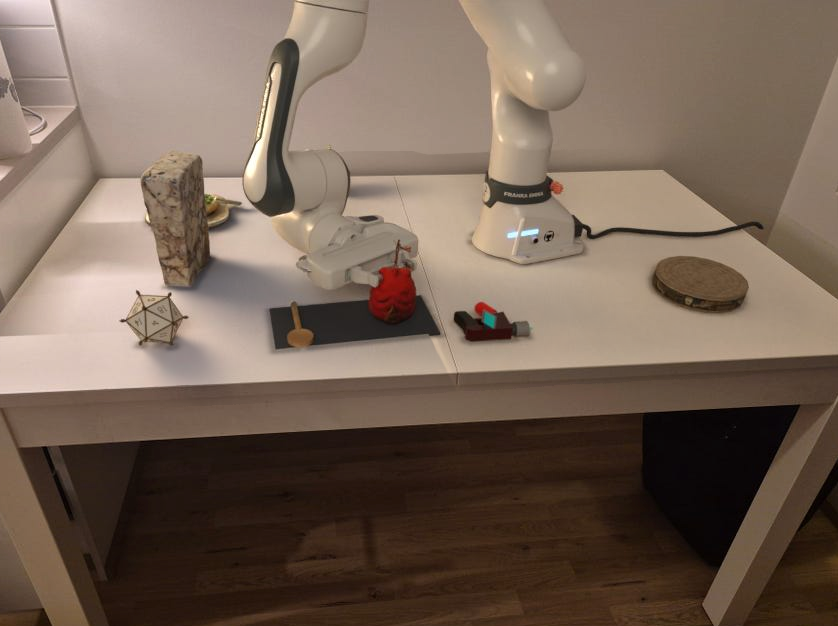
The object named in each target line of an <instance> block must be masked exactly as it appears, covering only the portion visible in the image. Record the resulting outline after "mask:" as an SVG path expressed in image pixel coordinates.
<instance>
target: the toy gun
mask: <svg viewBox="0 0 838 626" xmlns="http://www.w3.org/2000/svg"><path fill="white" fill-rule="evenodd" d="M474 311H475V313H477V314H478V315H479V316H481V317H472V315H470V313H469V312H468V311H466V310H458V311H454V313H453V322H454V323H455V324H456V325H457V326H458V327H459V328H460V329H461V330H462V333H463V335H464V338H465V340H466V341H468V342H484V341H504V340H511V339H512V337H514V338H523V337H524V338H525V337H529V336H530V333H531V330H533V329H534V327H531V326H530V323H529V321H527V320H522V321H512V322H510V321H509V319H508V317H507V315H506V314H505V312H504V311H499V312H498V311H497V310H496V309H495V308H493V307H492V306H490V305H489V304H487V303H485V302H484V301H477V303H476V304H475V305H474Z"/></svg>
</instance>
